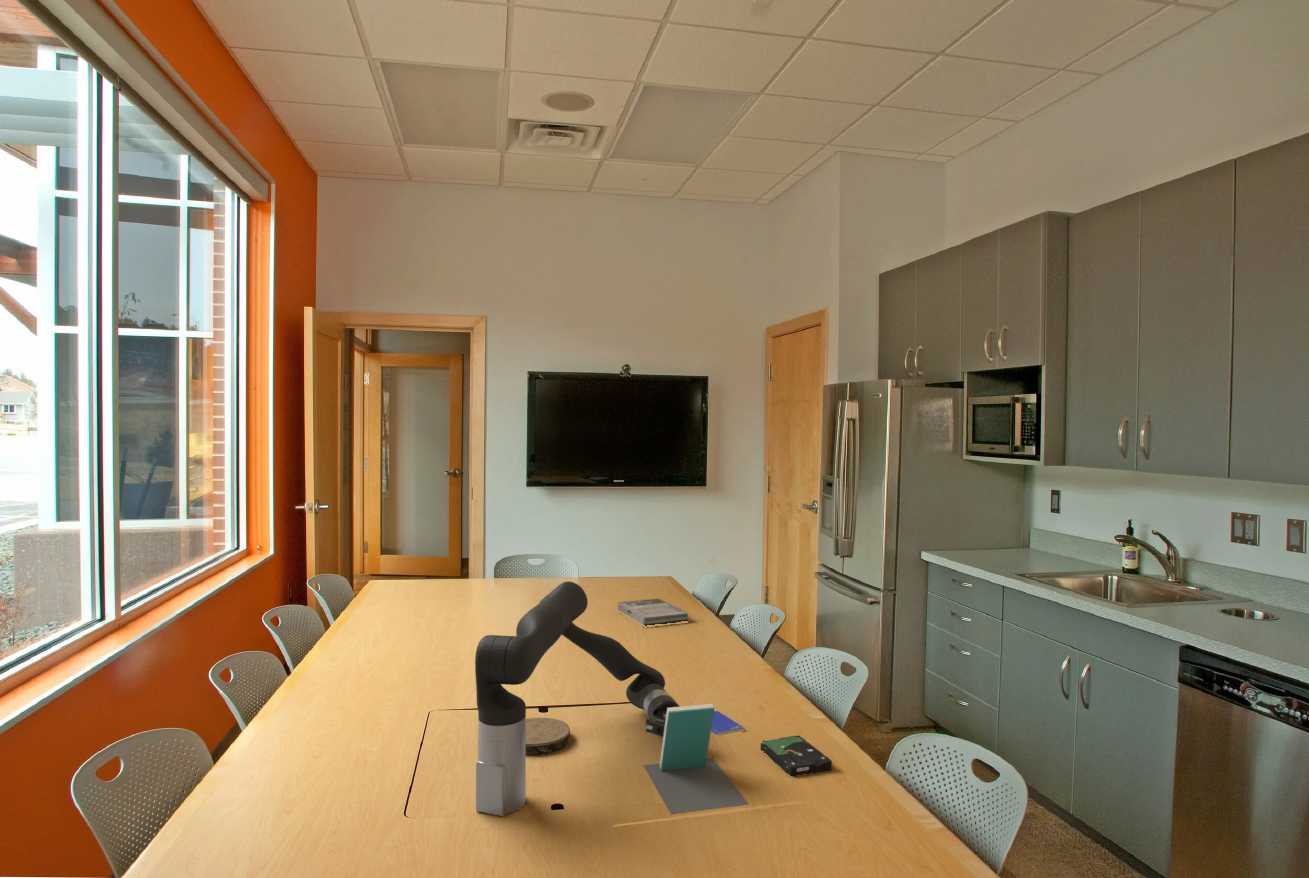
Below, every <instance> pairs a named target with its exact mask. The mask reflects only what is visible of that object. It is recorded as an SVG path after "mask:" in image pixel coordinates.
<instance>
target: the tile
mask: <svg viewBox="0 0 1309 878" xmlns="http://www.w3.org/2000/svg"><path fill="white" fill-rule="evenodd" d="M714 711H715V707H714V704H713V703H707V704H706V703H705V704H694V705H684V706H683V705H682V706H680V707H670V708H667V714H666V721H665V728H664V736H663V737H662V744H661V751H660V758H659V763H660V765H659V766H660V769H661V771H666V770H675V769H684V768H693V767H701V766H705V764H706V758H708V753H709V752H708V751H709V745H710V738H711V733H712V732H711V727H712V721H713V715H714Z"/></svg>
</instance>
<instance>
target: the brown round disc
mask: <svg viewBox="0 0 1309 878" xmlns="http://www.w3.org/2000/svg"><path fill="white" fill-rule="evenodd" d="M570 740H571V728H570V726H569V724H568V723H567V722H565V721H563V720H560V719H557V718H552V717H531V718H529V717H528V718H526V756H527V755H528V757H529V756H533V757H538V756H544V755H543V754H546V755H550V754H554V753H557V752H559V751H561V750H563V749H565V748H566V747H567V746H568V745H569V743H570ZM553 752H554V753H553ZM549 753H550V754H549Z"/></svg>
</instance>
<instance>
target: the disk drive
mask: <svg viewBox="0 0 1309 878" xmlns="http://www.w3.org/2000/svg"><path fill="white" fill-rule="evenodd" d="M761 750H762V751H764V752H763V754H764V753H766V754H767V755H768V756H769V757H770V758H771V759H772V760H773V763H775V764H776V763H777V764H778V765H779V766H780V767H781V768H782V771H784V773H786V774H787V775H788V774H789V775H790V776H794V777H797V776H796V775H801V776H804V775H803V774H807V775H811V773H813V774H819V772H820V773H825V772H831V771H833V768H832V767H833V762H832V760H831V759H830V758H829V757H828V756H827V755H825V754H824V753H822V751H820V750H819V749H817V748H816V747H815V746H813V745H812V744H811V743H810V742H808V741H807V740H806V739H805V738H803V737H802V736H800V735H792V736H785V737H779V738H777V739H770V740H762V742H761V743H760V751H761ZM762 751H761V752H762ZM766 754H765V755H766ZM767 755H766V756H767ZM768 756H767V757H768ZM769 757H768V758H769ZM770 758H769V759H770ZM771 759H770V760H771ZM777 764H776V765H777ZM778 765H777V766H778ZM779 766H778V767H779ZM780 767H779V768H780ZM781 768H780V769H781ZM789 775H788V776H789ZM790 776H789V777H790Z"/></svg>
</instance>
